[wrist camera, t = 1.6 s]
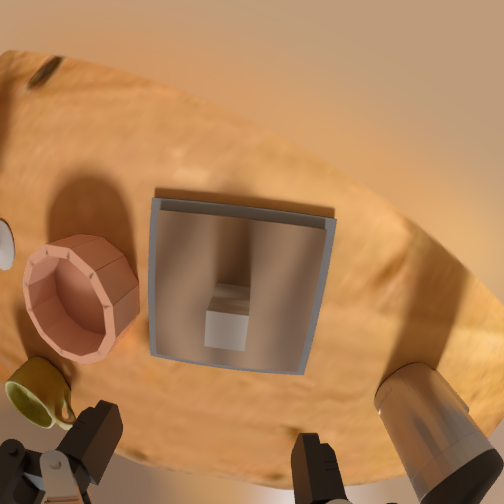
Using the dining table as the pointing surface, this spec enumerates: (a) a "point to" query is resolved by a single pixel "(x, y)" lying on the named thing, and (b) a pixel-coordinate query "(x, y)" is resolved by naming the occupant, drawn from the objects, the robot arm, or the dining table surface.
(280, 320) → the lid
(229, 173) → the dining table surface
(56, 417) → the mug
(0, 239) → the wineglass
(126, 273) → the bowl
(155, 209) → the mat
